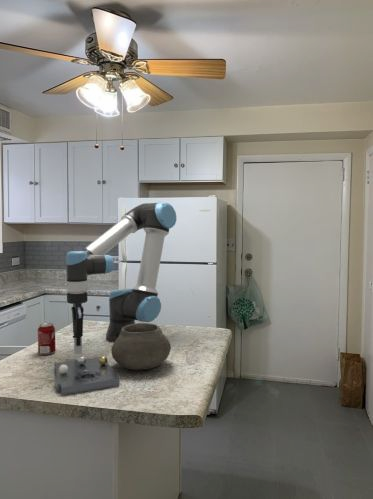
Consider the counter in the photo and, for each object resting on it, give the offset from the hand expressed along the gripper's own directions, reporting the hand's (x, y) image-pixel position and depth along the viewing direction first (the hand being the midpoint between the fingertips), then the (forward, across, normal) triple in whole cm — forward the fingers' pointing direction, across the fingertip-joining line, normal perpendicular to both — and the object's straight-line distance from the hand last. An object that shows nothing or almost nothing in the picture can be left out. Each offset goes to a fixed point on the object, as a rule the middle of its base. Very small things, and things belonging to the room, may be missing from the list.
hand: (78, 353), depth 147 cm
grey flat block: (+4, +15, 0) cm, 16 cm away
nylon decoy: (0, +15, -7) cm, 17 cm away
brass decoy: (0, +12, +7) cm, 14 cm away
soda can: (+4, -18, -10) cm, 21 cm away
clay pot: (+4, +13, +21) cm, 25 cm away
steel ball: (0, +9, 0) cm, 9 cm away
